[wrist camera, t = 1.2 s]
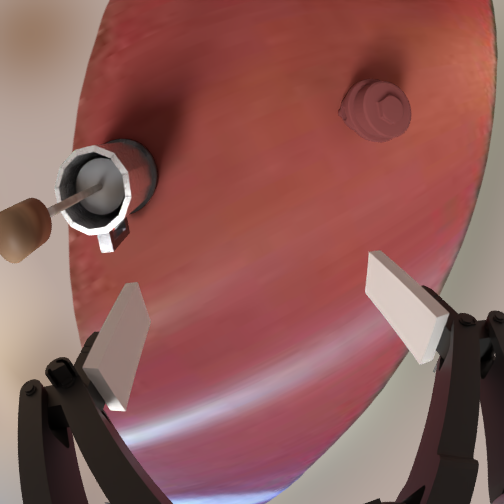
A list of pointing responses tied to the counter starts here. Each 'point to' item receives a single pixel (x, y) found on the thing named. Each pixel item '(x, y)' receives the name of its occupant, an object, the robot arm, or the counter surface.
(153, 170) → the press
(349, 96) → the mechanical component
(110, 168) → the plunger
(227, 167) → the counter surface
